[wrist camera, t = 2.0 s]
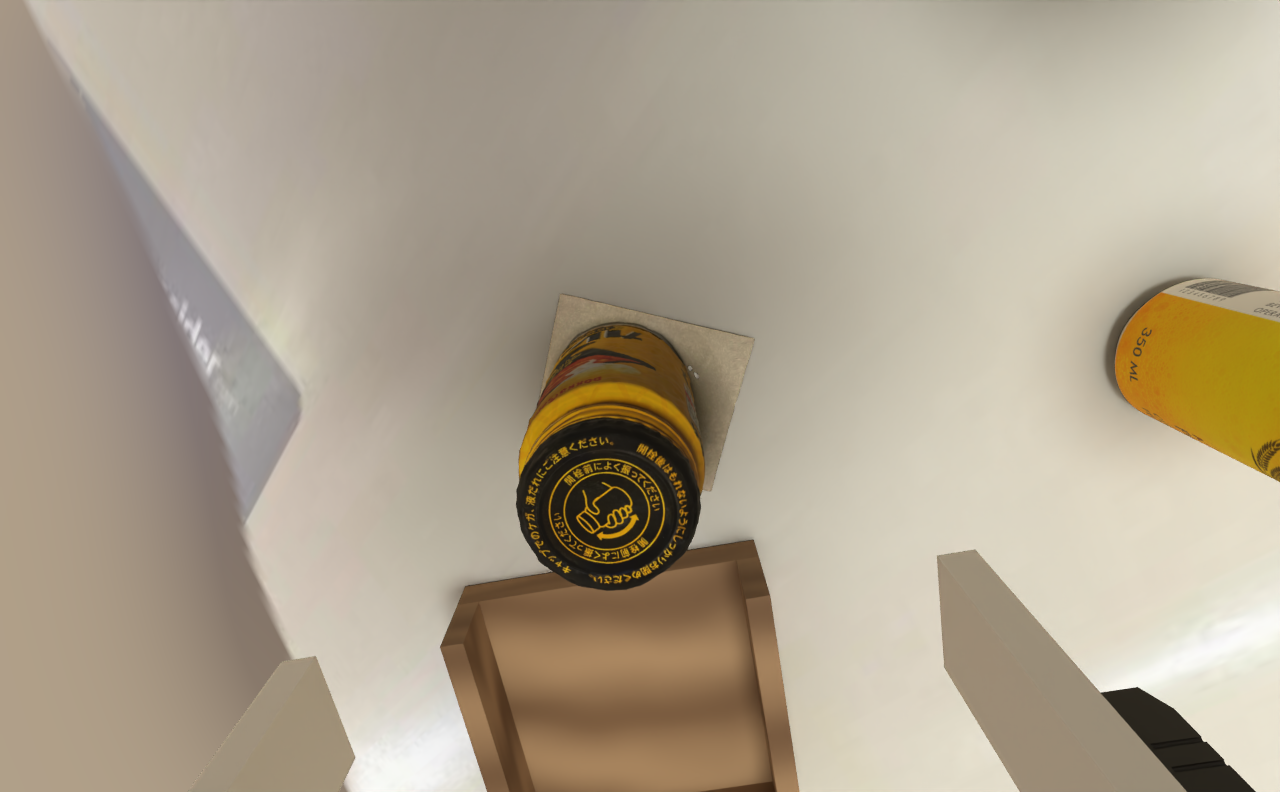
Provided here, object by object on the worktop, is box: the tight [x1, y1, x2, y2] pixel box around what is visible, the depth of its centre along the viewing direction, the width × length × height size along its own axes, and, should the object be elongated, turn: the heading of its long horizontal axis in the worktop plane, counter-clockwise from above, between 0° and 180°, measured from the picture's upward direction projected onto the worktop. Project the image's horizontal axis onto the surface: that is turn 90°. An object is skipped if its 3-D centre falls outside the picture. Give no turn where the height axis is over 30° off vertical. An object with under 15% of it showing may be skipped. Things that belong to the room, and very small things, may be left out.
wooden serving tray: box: [440, 540, 799, 792], centre depth 33 cm, size 14×14×6 cm
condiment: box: [516, 294, 755, 591], centre depth 26 cm, size 7×8×12 cm
